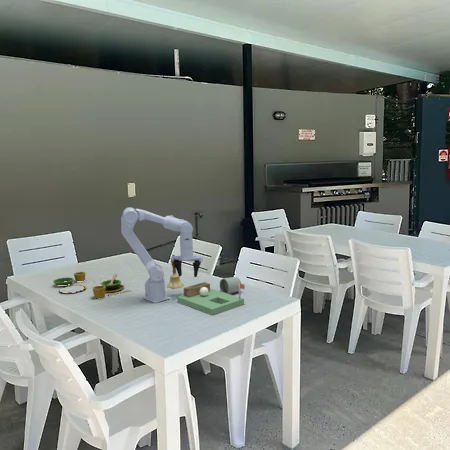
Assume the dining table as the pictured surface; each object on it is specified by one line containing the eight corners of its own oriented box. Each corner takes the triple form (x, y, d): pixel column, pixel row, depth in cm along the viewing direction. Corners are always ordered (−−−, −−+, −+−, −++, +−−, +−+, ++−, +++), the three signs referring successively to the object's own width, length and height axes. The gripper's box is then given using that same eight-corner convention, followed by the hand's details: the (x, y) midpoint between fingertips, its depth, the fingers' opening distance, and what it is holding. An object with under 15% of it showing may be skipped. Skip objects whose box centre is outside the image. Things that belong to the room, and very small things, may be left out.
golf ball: (197, 295, 196) (197, 287, 196) (204, 293, 199) (204, 285, 198) (203, 297, 193) (203, 289, 193) (210, 295, 196) (210, 287, 195)
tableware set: (134, 292, 215) (133, 279, 214) (78, 306, 198) (76, 292, 197) (99, 276, 246) (98, 265, 245) (48, 286, 229) (47, 275, 228)
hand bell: (167, 289, 216) (165, 257, 214) (166, 284, 225) (164, 253, 222) (184, 287, 218) (182, 256, 216) (182, 283, 226) (181, 252, 224)
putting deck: (177, 302, 197) (176, 281, 195) (208, 292, 208) (207, 273, 207) (215, 316, 178) (214, 293, 176) (247, 305, 189) (246, 284, 188)
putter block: (184, 295, 197) (183, 287, 197) (204, 289, 205) (204, 282, 205) (189, 297, 194) (189, 289, 194) (210, 291, 202) (209, 283, 202)
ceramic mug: (242, 292, 207) (242, 276, 206) (228, 296, 202) (228, 280, 201) (229, 288, 215) (228, 272, 214) (215, 291, 210) (214, 276, 209)
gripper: (168, 248, 199) (169, 277, 201) (198, 249, 195) (200, 279, 198) (174, 245, 206) (175, 273, 208) (203, 246, 202) (204, 275, 204)
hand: (187, 276), depth 203 cm, fingers open, 7 cm apart
